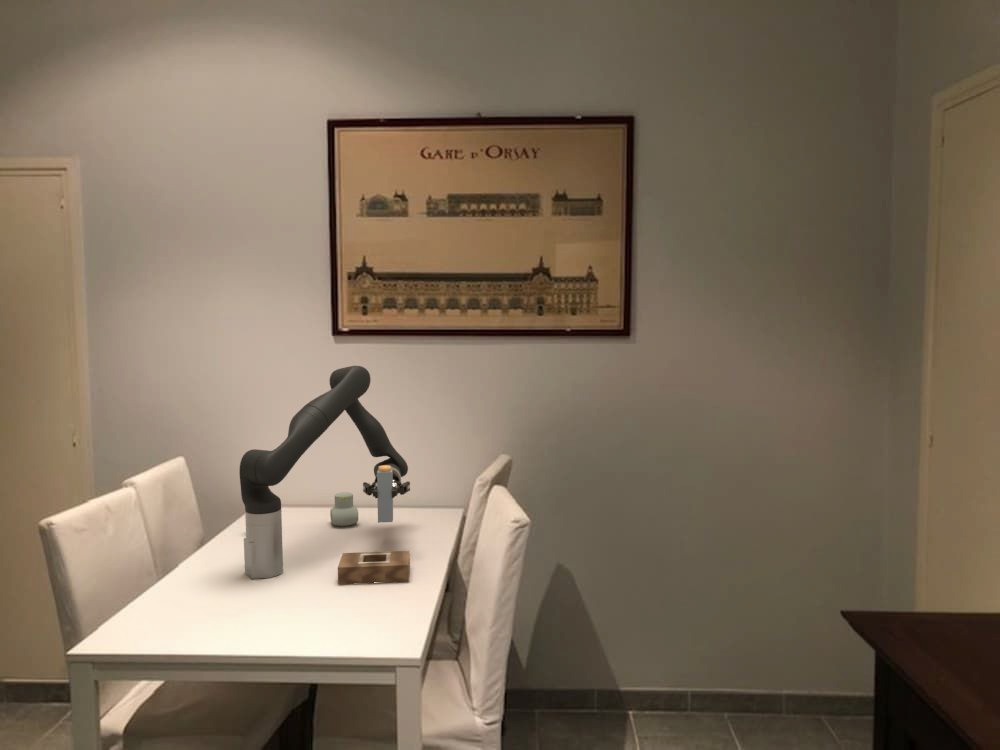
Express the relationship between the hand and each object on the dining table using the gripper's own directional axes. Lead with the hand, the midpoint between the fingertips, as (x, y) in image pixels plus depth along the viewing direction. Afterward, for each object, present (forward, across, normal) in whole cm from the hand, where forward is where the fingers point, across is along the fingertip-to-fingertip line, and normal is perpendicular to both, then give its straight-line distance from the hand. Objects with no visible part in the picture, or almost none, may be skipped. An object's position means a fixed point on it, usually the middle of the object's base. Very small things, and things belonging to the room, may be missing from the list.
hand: (384, 494), depth 219 cm
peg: (-3, 0, +8) cm, 8 cm away
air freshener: (-42, -16, +20) cm, 49 cm away
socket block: (+9, -2, +20) cm, 22 cm away
